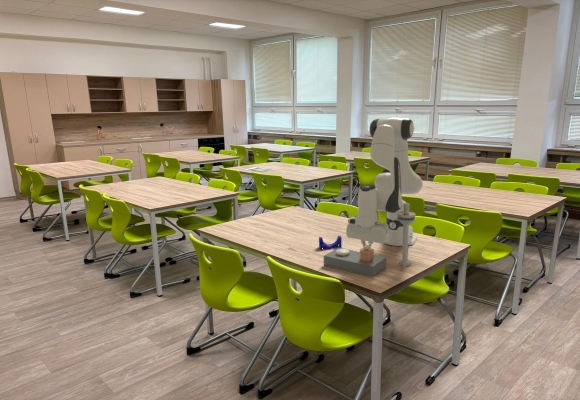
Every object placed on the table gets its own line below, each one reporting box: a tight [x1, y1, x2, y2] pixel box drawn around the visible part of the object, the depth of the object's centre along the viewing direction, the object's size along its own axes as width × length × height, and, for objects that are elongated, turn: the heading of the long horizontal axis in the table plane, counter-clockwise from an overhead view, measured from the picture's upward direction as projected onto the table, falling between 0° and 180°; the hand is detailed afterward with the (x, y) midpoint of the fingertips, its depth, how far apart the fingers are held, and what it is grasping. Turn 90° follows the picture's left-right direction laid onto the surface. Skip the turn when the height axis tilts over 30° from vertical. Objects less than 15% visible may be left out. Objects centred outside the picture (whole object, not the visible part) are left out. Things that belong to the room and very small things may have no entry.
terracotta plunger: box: [359, 247, 375, 262], centre depth 192 cm, size 6×6×6 cm
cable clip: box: [318, 235, 343, 251], centre depth 225 cm, size 12×4×6 cm, turn 96°
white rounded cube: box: [336, 248, 350, 257], centre depth 201 cm, size 6×6×6 cm
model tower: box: [397, 202, 416, 268], centre depth 195 cm, size 8×8×30 cm
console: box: [323, 247, 387, 278], centre depth 197 cm, size 14×26×5 cm, turn 53°
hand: (366, 249), depth 192 cm, fingers closed
